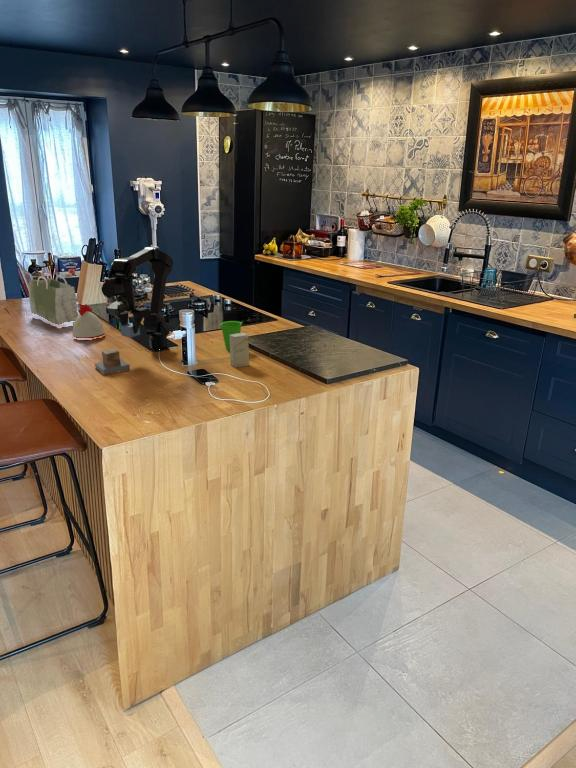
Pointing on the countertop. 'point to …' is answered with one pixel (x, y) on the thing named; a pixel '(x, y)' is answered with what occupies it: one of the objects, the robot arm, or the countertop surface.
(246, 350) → the skincare box
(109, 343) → the countertop surface
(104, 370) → the slate pad
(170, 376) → the countertop surface
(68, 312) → the grocery bag
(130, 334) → the slate block
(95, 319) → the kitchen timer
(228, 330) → the cup
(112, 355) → the walnut cube
